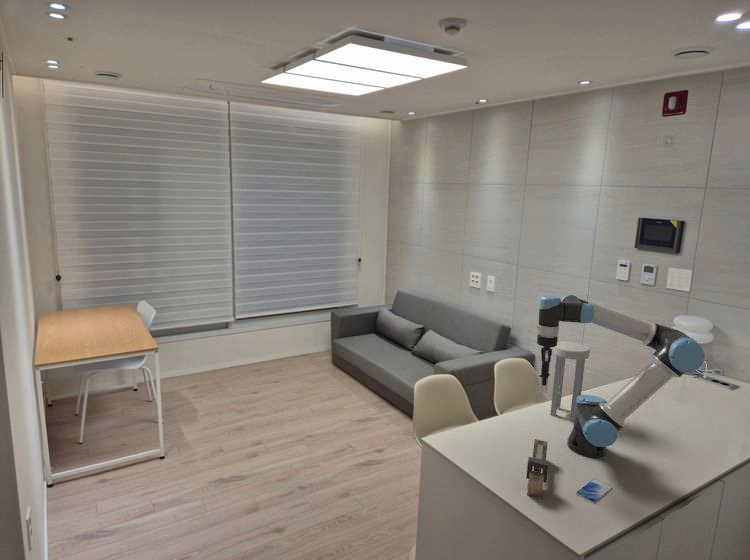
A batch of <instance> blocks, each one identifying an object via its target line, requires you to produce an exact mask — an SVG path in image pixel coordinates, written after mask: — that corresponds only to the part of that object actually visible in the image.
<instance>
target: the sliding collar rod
mask: <svg viewBox="0 0 750 560" xmlns="http://www.w3.org/2000/svg"><path fill="white" fill-rule="evenodd" d="M548 442H549V441H546V440H541V439H534V442H533V449H532V450H533V451H532V458H537V459H541V460H546V461H547V454H548ZM527 485H528V486H527V494H526V495H527V496H529V495H530V497H534V498H538V499H543V492H544V473H542V468H538V467H533V470H532V471H531V470H530V472H529V479H528V483H527Z"/></svg>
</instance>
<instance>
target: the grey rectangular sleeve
mask: <svg viewBox="0 0 750 560" xmlns="http://www.w3.org/2000/svg"><path fill="white" fill-rule="evenodd" d="M534 467H538V468H541V473H544V483H545V484H547V482H548V473H549V471H548V470H549V460H547V459H546V460H541V459H537V458H533V456H528V458H527V467H526V479H528V480H529V472H530V470H531V471H533V470H534ZM544 483H543V484H544Z"/></svg>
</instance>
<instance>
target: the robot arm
mask: <svg viewBox="0 0 750 560" xmlns="http://www.w3.org/2000/svg"><path fill="white" fill-rule="evenodd" d="M538 308H539V309H538V310H539V311H538V324H537V326H536V329H537V336H536V337H537V338H536V339H537V340H536V344H537V345H538V346H540V354H541V355H540V356H541V359H540V360H541V370H540V372H541V373H540V374H539V376H538V377H540V382H539V383H540V384H539V385H540V386H539V393H545V394H548V386H549V383H548V382H549V377H550V376H551V374H550V362H551V360H552V355H553V351H552V350H553V349H552V348H554V347H555V346H557V343H558V341H559V340H558V339H559V338H558V336H559V329H560V322H564V323H565V322H566V323H578V324H590V323H592V324H595V325H597V326H600V327H602V328H605V329H608V330H611V331H614V332H616V333H618V334H622V335H624V336H627V337H630V338H632V339H634V340H637V341H641V343H642V344H643V345H644V346H647V347H649V348H650V349H653V350H655V352H654V353H653V354H652V360H651V361H649V363H648V364H647V365H646V366H645V367H644V368H643V369H641V370H640V371H639V372H638V373H637V374H636V375H635V376H634V377H633V378H632V379H631V380H629V381H628V382H627V384H625V385H624V386H623V387H622V388H621V389H620V390H618V391H617V392H616V394H615V395H613V396H612V397H611V398H610V399H609V400H608V401H607V400H606V399H605V398H603V397H601V396H597V395H593V394H581V395H580V396H578V397H577V401H576V410H575V419H574V421H573V428H572V430H571V432H570V433H569V436H568V438H567V442H566V443H567V444H566V445H567V447H568V448H569V449H570V450H571V451H572V452H574V453H576V454H578V455H581V456H584V457H588V458H589V457H591V458H600V457H601V458H602V457H603V456H605V455H606V453H607V447H610V446H612V445H613V444H614V443H616V441H617V439H618V436H619V431H621V430H622V429H623V428H624V427H625V420H627V419H628V418H629V417H630V416H631V415H632V414H634V413H635V412H636V411H637V410H638V409H639V408H640V407H641V406H642V405H643V404H645V403H646V402H647V401H648V400H649V399H650V398H652V396H653V395H655V394H656V392H658V391H659V390H660V389H661V388H662V387H663V386H665V385H666V383H668V382H670V380H672V379H673V378H681V377H682V376H684V374H685V373H693V372H695V371H697V370H699V369H700V368H701V367H702V366H703V364H704V362H705V358H706V357H705V351H704V349H703V347H702V346H701V344H700V343H699V342H698V341H697V340H695V339H694V338H691V336H689V335H687V334H686V333H684V332H683V331H680V330H678V329H676V328H673V327H668V326H665V325H662V324H659V323H656V322H650V323H649V322H645V321H643V320H639V319H638V318H637V319H636V318H634V317H631V316H629V315H626V314H623V313H620V312H618V311H616V310H615V311H614V310H611V309H610V308H607V307H603V306H601V305H598V304H595V303H593V302H590V301H588V300H585V299H582V298H579V297H577V296H576V295H574V294H567V295H564V296H563V297H562V298H561V297H559V296H556V295H543V296H541V298H540V301H539V306H538Z"/></svg>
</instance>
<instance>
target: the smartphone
mask: <svg viewBox="0 0 750 560" xmlns="http://www.w3.org/2000/svg"><path fill="white" fill-rule="evenodd" d="M612 490H613V486H612V485H610V484H607V483H606V482H604V481H602V480H599V479H597V478H593V479H591V480H590V481H589V482H588V483H586V484H585V485H583V486H582V487H581V488H579V489H578V490H577V491H576V492H575V495H576V496H578V497H580V498H582V499H583V500H586V501H587V502H590V503H591V504H597V502H599V501H600V500H601V499H602V498H604V497H605V496H606V495H607V494H608V493H610V491H612Z"/></svg>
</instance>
